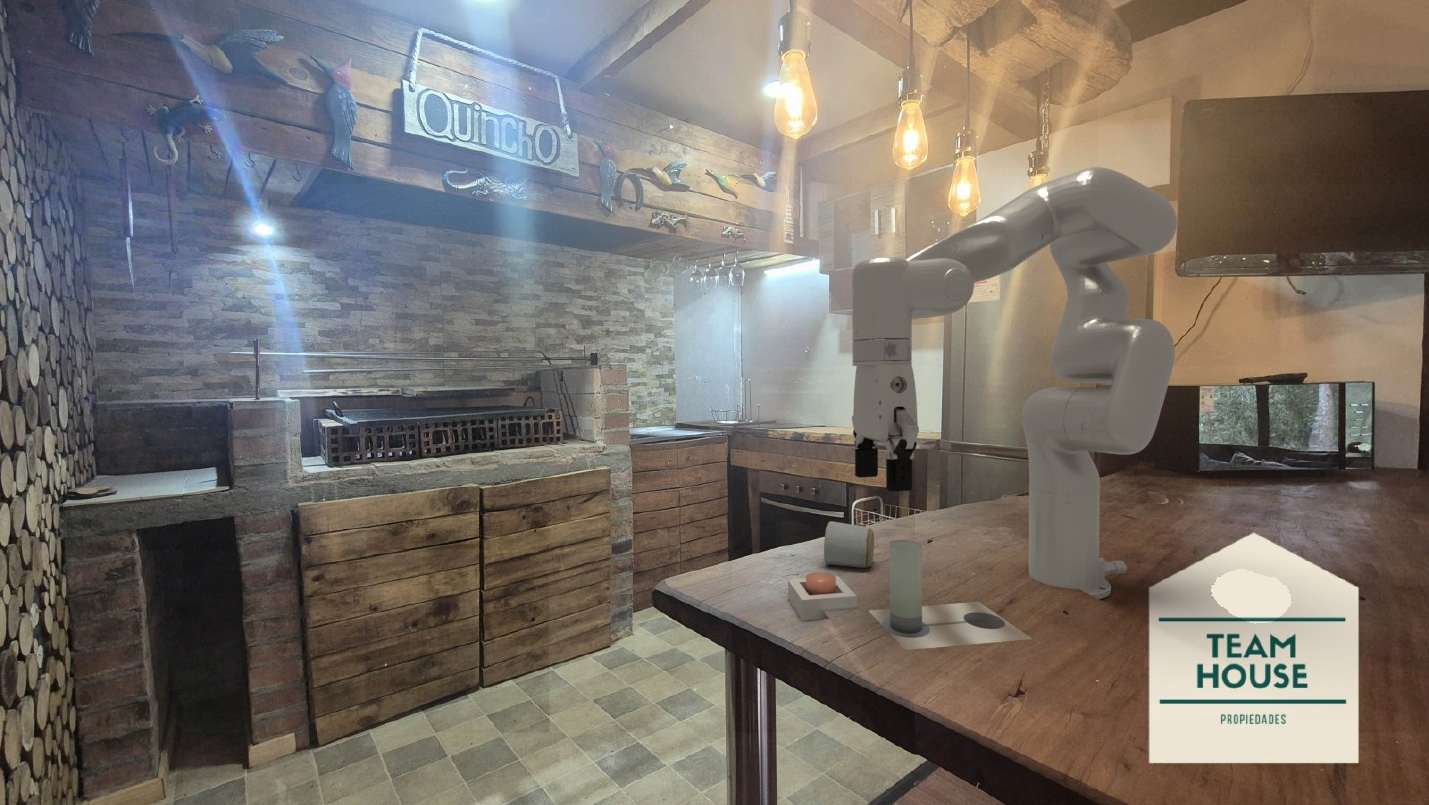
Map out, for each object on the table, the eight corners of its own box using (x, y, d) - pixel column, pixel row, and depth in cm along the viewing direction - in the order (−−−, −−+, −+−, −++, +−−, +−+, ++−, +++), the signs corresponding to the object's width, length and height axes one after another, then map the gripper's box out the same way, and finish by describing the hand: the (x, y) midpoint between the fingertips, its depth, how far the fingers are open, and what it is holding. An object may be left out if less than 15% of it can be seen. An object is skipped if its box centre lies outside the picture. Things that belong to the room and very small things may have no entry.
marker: (913, 619, 77) (912, 539, 76) (927, 632, 73) (927, 548, 72) (885, 621, 76) (884, 540, 76) (898, 634, 72) (897, 550, 72)
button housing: (838, 594, 89) (837, 576, 89) (856, 616, 81) (856, 595, 81) (788, 598, 88) (788, 579, 88) (802, 620, 80) (802, 600, 80)
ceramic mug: (871, 574, 98) (870, 530, 97) (823, 569, 100) (822, 526, 100) (876, 556, 107) (876, 516, 107) (833, 552, 110) (832, 513, 110)
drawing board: (980, 608, 83) (980, 599, 83) (1041, 651, 70) (1041, 640, 70) (861, 617, 81) (861, 608, 81) (902, 664, 68) (902, 653, 68)
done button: (830, 584, 87) (830, 571, 87) (840, 595, 83) (840, 581, 82) (802, 586, 86) (802, 573, 86) (810, 597, 82) (810, 584, 82)
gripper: (944, 351, 67) (943, 495, 68) (879, 356, 84) (879, 471, 85) (884, 352, 66) (884, 498, 67) (831, 357, 83) (831, 473, 84)
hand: (881, 483), depth 76 cm, fingers open, 9 cm apart
